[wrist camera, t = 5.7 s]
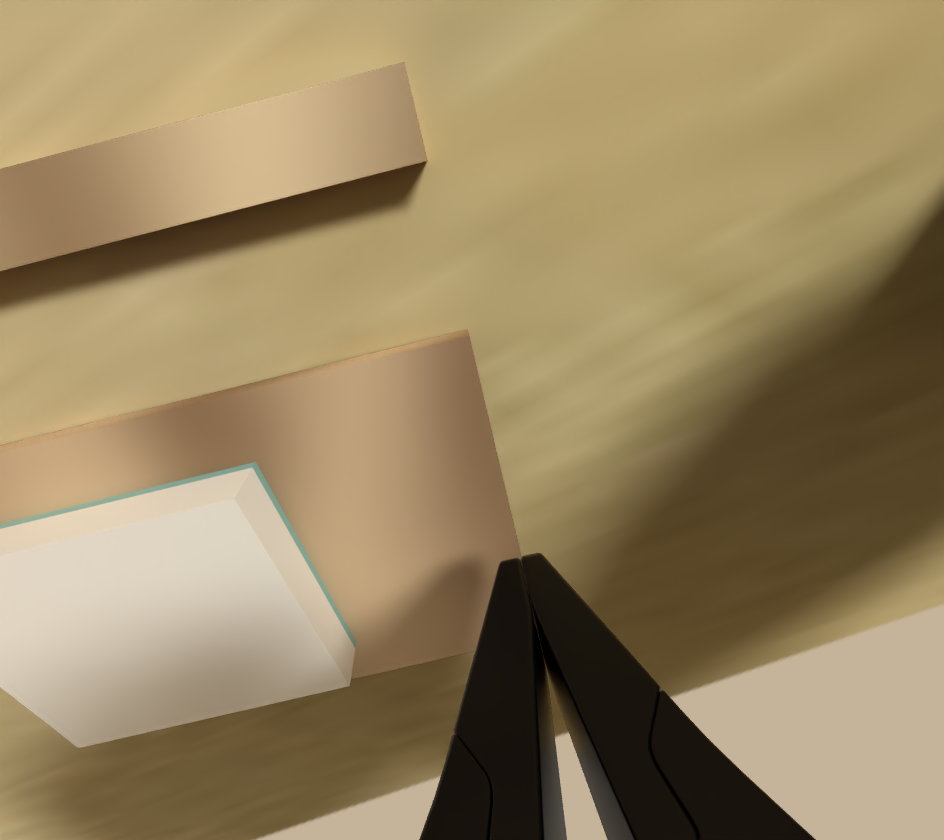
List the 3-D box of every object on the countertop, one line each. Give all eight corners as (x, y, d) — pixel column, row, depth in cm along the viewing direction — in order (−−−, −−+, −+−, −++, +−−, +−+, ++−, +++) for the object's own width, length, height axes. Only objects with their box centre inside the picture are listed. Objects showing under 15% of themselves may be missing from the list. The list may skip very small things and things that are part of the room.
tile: (234, 498, 8) (-128, 586, 8) (349, 685, 11) (78, 748, 11) (255, 462, 9) (-67, 540, 9) (356, 641, 12) (107, 699, 12)
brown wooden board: (467, 329, 9) (469, 336, 8) (537, 624, 13) (540, 636, 13) (-163, 485, 9) (-186, 498, 9) (109, 722, 13) (100, 736, 13)
